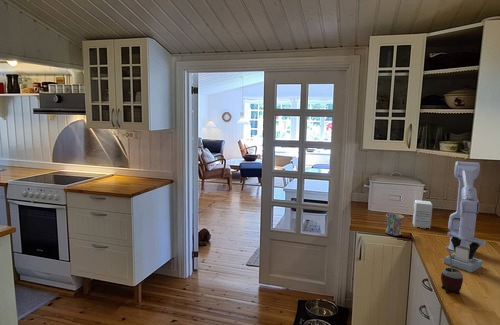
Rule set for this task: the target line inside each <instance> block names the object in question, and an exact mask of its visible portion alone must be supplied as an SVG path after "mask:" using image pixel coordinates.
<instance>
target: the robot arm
mask: <svg viewBox="0 0 500 325" xmlns="http://www.w3.org/2000/svg"><path fill="white" fill-rule="evenodd" d="M480 170H481V164H480V162H473V161H472V162H470V161H459V160H457V161H455V163H454V174H453V175H454V178H455V179H457V180H458V190H457V191H458V192H457V199H456V200H457V202H456V211H455V212H453V213H451V214H450V215H449V218H448V225H447V228H448V230H449V231H448V232H447V236H446V237H449V245H447V246H445V249H447V247H448V248H449V250H450V251H454V252H455V251H456V247H458V246H460V245H463V246H466V247H469V248H470V253H469V259H473V258H474V256H475V253H476V251H478V249H479V248H480V247H485V246H486V240H483V239H480V238H478V237H475V231H476V223H477V214H479V211H480V201H479V199H478V194H477V193H478V192H477V188H475V187H474V183H475V182H474V181H475V180H477V178H478V176H479V175H480Z"/></svg>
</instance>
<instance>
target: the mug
mask: <svg viewBox="0 0 500 325" xmlns="http://www.w3.org/2000/svg"><path fill="white" fill-rule="evenodd" d="M385 217H386V220H387V226H386V229H385V234H387V235H389V236H396V237H397V236H401V235H402V231H401V230H402V229H401V225H402V222H403V220H404V218H405V216H404V215H402V214H399V213H393V212H392V213H391V212H390V213H386V214H385Z"/></svg>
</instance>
